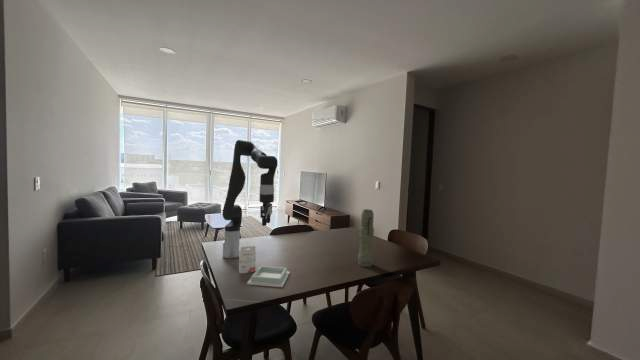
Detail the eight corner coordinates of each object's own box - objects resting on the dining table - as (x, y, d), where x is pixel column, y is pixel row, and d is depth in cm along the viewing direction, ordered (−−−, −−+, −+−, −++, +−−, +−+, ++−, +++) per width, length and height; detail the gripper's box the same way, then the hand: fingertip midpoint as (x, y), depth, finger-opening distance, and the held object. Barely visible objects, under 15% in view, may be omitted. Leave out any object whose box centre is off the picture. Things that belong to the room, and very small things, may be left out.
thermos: (366, 260, 175) (368, 208, 173) (375, 267, 164) (378, 211, 162) (354, 261, 172) (357, 208, 170) (363, 268, 161) (366, 211, 159)
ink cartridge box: (253, 268, 152) (254, 243, 152) (255, 272, 148) (256, 246, 147) (238, 270, 149) (239, 244, 148) (239, 273, 144) (240, 247, 144)
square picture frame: (247, 284, 132) (247, 277, 132) (258, 270, 150) (258, 264, 150) (282, 287, 130) (282, 280, 130) (289, 273, 148) (289, 267, 148)
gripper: (263, 192, 148) (263, 221, 148) (255, 194, 133) (254, 226, 134) (277, 192, 147) (276, 222, 148) (270, 194, 133) (269, 227, 133)
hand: (266, 224), depth 141 cm, fingers open, 6 cm apart
